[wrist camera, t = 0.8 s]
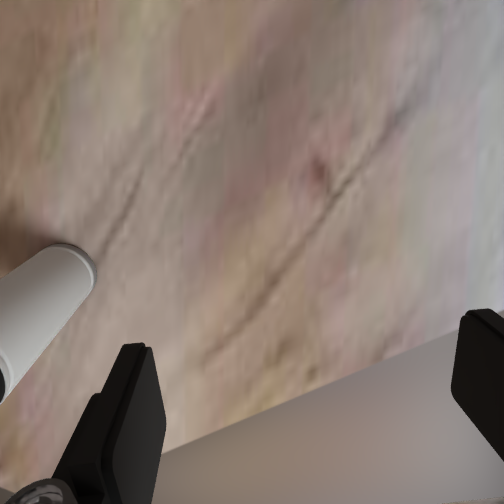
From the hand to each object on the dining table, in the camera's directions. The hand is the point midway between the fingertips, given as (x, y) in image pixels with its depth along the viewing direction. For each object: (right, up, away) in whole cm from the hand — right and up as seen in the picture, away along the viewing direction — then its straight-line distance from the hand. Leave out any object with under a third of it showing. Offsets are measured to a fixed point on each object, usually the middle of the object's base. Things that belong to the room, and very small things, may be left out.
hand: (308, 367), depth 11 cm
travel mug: (-21, +2, +27) cm, 34 cm away
